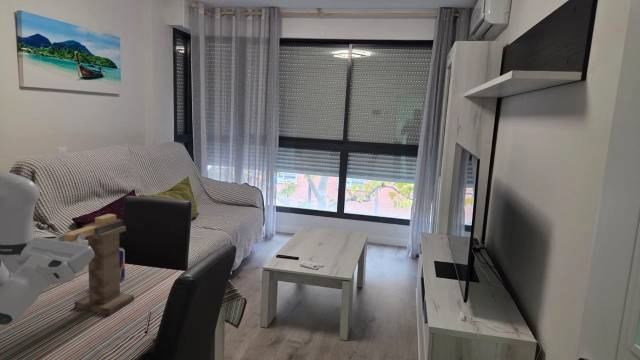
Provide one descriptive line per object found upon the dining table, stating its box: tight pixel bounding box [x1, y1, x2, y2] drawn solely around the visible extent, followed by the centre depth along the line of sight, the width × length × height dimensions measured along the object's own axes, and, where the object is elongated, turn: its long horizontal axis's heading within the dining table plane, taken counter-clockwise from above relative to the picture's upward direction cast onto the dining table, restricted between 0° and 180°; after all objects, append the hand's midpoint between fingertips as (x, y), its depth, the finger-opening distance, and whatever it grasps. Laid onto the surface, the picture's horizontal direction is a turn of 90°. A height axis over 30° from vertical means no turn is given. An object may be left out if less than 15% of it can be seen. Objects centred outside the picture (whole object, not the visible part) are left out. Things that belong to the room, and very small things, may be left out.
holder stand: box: [74, 218, 135, 316], centre depth 136 cm, size 14×11×28 cm
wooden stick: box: [63, 213, 117, 243], centre depth 129 cm, size 3×18×4 cm, turn 166°
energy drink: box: [119, 247, 126, 282], centre depth 156 cm, size 5×5×12 cm
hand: (76, 233), depth 123 cm, fingers closed on wooden stick, 3 cm apart
